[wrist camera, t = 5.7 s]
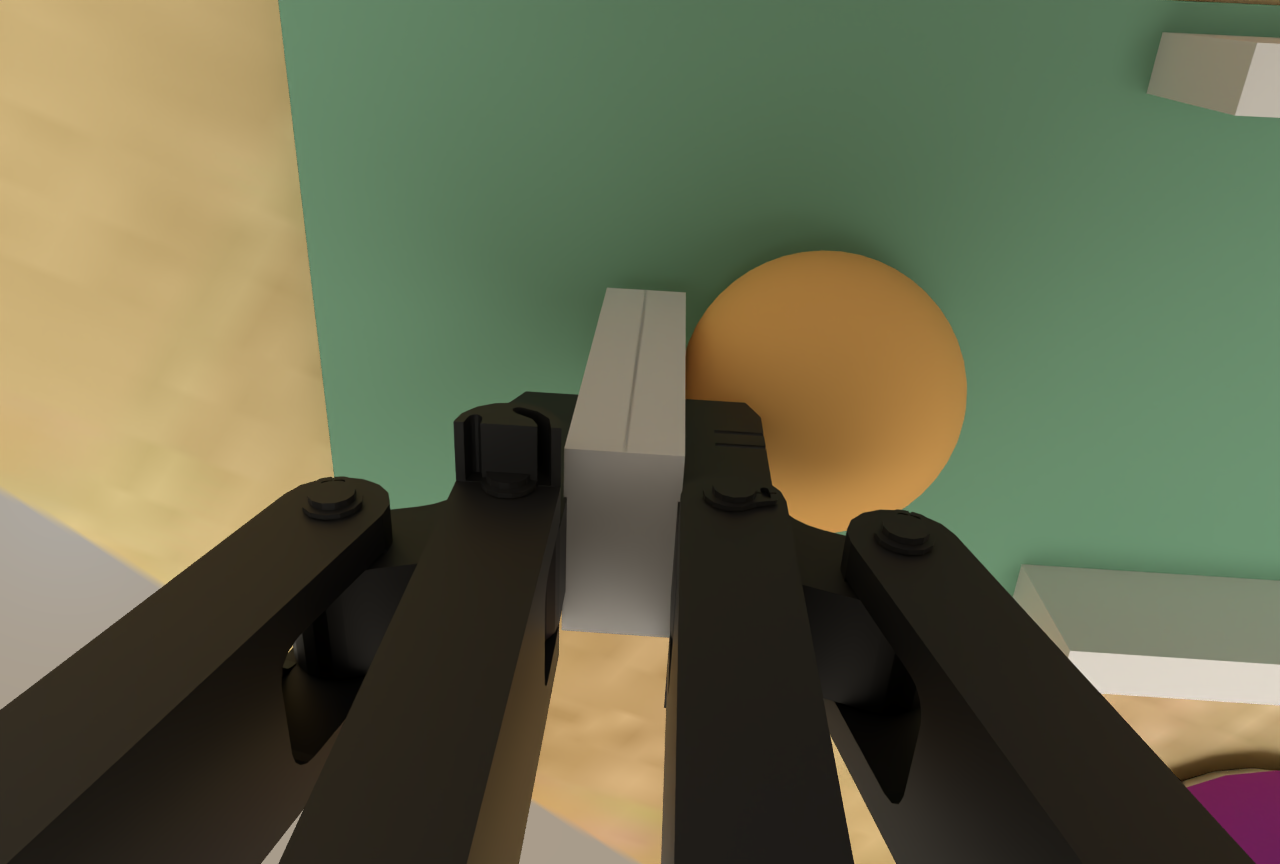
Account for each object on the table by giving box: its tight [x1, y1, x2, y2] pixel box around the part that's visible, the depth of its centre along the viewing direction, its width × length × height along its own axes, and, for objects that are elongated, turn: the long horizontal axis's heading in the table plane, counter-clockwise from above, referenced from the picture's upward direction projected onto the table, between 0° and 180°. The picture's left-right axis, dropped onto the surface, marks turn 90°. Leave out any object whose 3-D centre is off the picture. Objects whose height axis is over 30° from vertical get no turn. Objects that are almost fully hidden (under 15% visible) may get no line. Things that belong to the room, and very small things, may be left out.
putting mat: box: [278, 0, 1280, 597], centre depth 19 cm, size 26×13×1 cm, turn 88°
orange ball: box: [685, 250, 967, 533], centre depth 17 cm, size 5×5×5 cm
